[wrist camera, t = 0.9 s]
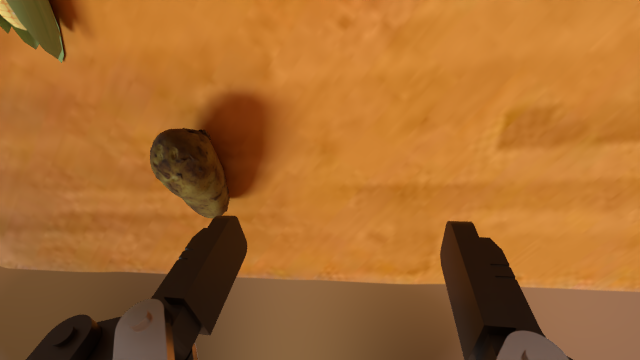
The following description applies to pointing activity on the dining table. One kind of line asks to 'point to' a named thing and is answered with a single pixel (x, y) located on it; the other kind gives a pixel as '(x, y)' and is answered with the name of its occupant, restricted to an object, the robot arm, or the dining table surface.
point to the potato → (191, 170)
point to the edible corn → (33, 24)
